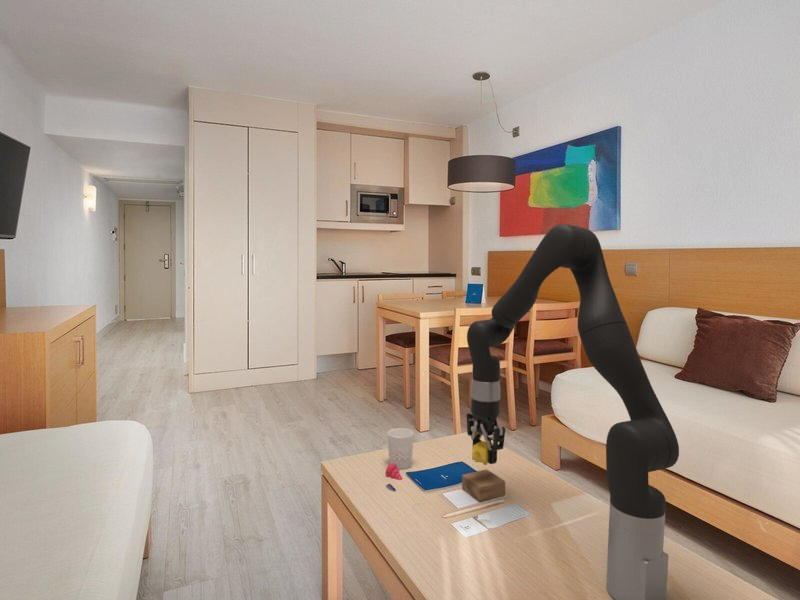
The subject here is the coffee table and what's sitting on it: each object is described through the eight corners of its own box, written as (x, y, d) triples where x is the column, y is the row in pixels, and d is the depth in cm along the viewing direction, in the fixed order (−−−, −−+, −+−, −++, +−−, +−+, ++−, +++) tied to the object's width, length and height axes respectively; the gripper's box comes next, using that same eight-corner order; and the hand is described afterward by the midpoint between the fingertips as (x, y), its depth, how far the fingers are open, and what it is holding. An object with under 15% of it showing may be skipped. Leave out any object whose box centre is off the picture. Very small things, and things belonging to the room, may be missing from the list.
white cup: (407, 457, 152) (407, 426, 151) (417, 467, 145) (417, 435, 144) (383, 461, 149) (384, 429, 148) (392, 471, 142) (392, 438, 141)
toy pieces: (373, 487, 133) (373, 472, 133) (394, 471, 143) (394, 457, 142) (411, 498, 127) (411, 482, 127) (430, 481, 137) (430, 466, 136)
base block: (504, 496, 126) (505, 481, 126) (479, 502, 122) (479, 487, 122) (486, 483, 133) (486, 469, 133) (462, 489, 130) (462, 474, 129)
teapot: (486, 470, 122) (487, 450, 121) (467, 463, 126) (467, 444, 125) (502, 460, 128) (502, 441, 128) (483, 454, 132) (483, 436, 131)
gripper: (515, 401, 121) (513, 466, 122) (481, 387, 134) (479, 446, 135) (490, 405, 117) (489, 472, 119) (458, 390, 130) (457, 450, 132)
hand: (484, 458), depth 127 cm, fingers closed on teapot, 6 cm apart
